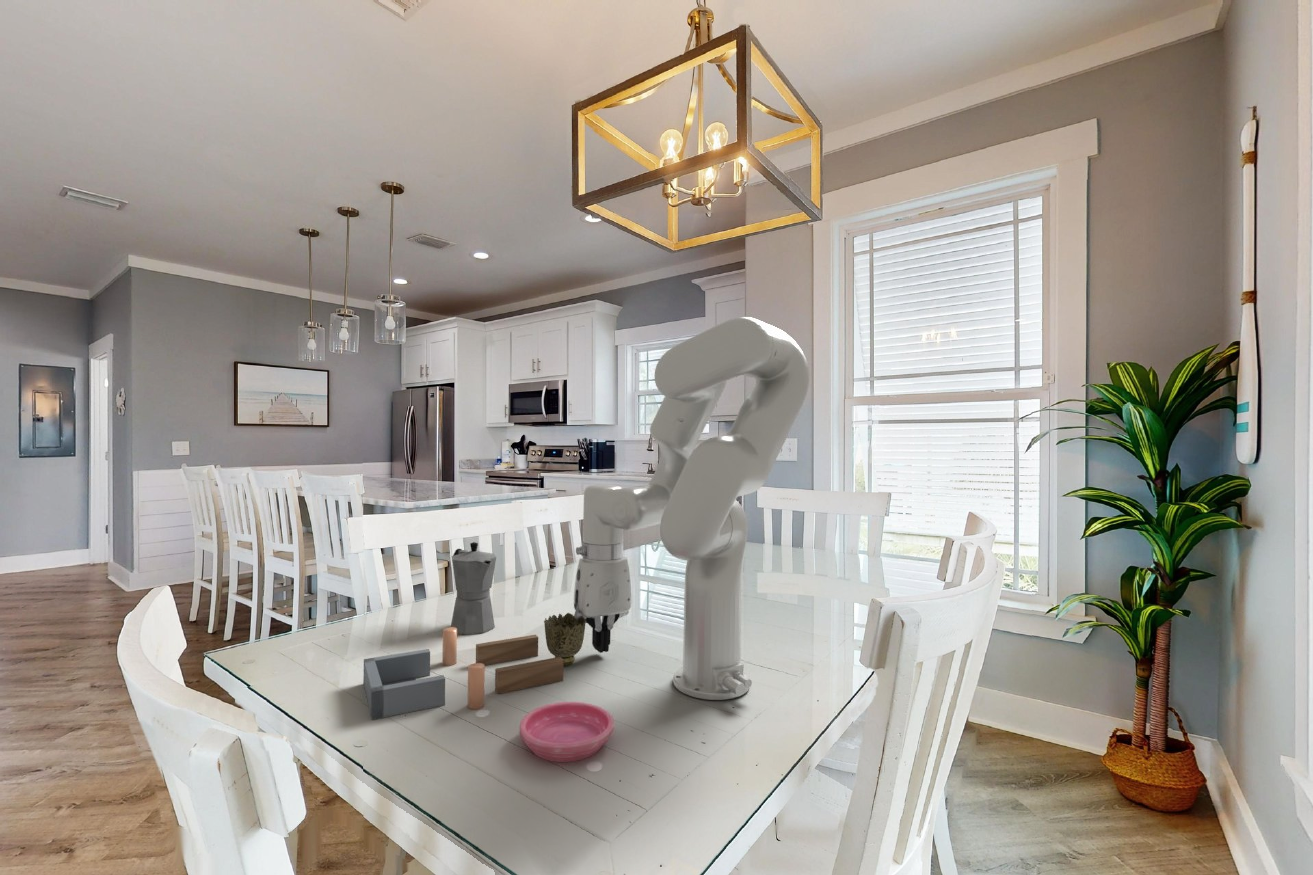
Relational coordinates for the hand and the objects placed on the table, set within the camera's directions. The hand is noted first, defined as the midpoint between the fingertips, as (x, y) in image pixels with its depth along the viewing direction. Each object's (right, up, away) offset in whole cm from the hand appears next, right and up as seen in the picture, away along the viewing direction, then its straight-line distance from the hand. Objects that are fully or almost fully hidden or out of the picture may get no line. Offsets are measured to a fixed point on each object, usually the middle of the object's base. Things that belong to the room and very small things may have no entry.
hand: (601, 649), depth 112 cm
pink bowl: (-2, -2, -31) cm, 31 cm away
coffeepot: (-29, -1, +15) cm, 33 cm away
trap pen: (-30, -1, -17) cm, 34 cm away
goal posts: (-22, -1, -13) cm, 25 cm away
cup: (-6, -1, -4) cm, 7 cm away
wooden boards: (-14, -1, -8) cm, 16 cm away
